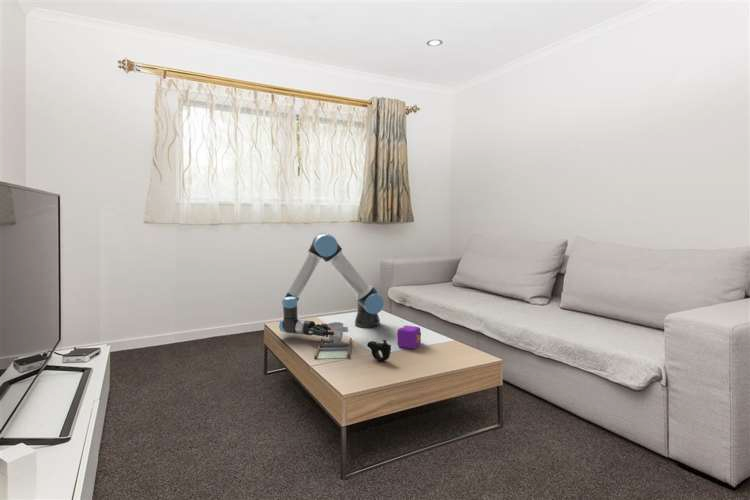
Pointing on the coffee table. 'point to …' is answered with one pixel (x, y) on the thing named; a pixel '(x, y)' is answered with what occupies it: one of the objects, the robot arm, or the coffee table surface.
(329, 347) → the tray
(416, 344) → the toy camera
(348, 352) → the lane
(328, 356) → the pad
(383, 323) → the coffee table surface
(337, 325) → the cup
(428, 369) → the coffee table surface
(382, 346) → the controller
